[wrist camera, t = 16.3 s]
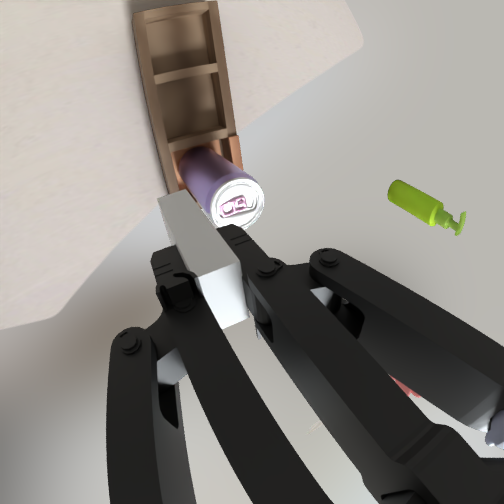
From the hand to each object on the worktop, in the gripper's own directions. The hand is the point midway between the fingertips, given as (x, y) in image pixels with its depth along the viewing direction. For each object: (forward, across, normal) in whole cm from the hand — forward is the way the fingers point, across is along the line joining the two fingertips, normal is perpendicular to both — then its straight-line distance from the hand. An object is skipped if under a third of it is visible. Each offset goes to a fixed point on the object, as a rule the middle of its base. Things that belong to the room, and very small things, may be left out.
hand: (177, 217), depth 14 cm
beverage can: (+25, +7, -6) cm, 27 cm away
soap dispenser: (+25, +53, -22) cm, 62 cm away
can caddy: (+26, +7, +3) cm, 27 cm away
